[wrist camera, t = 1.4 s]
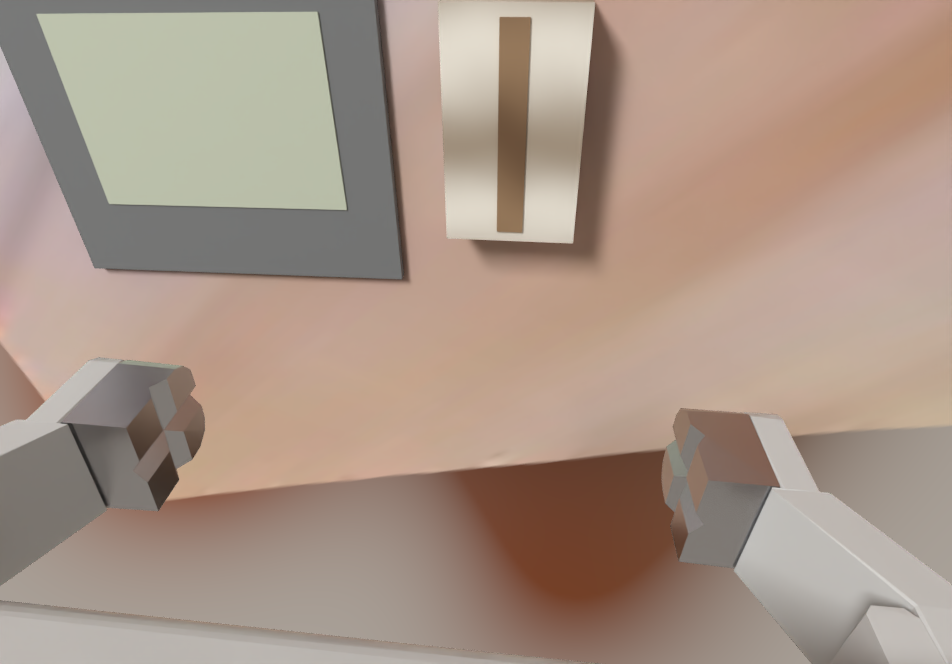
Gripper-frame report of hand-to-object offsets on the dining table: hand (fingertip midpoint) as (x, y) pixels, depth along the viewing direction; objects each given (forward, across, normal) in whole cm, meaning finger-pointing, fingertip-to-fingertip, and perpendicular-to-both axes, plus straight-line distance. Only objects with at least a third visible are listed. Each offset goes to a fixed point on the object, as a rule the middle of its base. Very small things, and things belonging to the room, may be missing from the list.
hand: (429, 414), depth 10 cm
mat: (+22, +14, +1) cm, 26 cm away
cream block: (+22, -1, 0) cm, 22 cm away
